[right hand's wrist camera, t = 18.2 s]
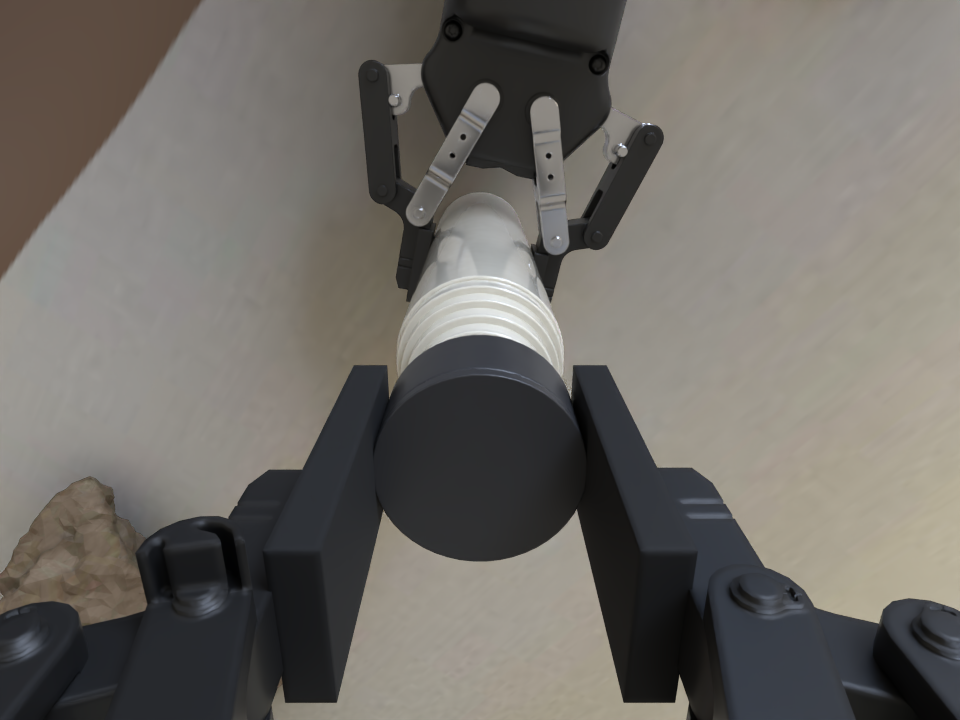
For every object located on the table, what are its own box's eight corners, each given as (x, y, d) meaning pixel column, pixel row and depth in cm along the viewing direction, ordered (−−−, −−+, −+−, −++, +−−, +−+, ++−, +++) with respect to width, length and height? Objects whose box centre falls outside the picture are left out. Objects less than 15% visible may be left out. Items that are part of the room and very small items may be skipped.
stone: (-82, 593, 42) (-136, 665, 36) (94, 452, 42) (67, 503, 36) (168, 733, 51) (155, 806, 46) (312, 618, 51) (316, 677, 46)
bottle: (452, 179, 36) (398, 316, 12) (534, 208, 36) (637, 392, 13) (426, 261, 37) (335, 522, 14) (505, 288, 38) (548, 581, 14)
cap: (456, 527, 16) (452, 593, 14) (349, 397, 15) (327, 448, 12) (606, 443, 15) (627, 499, 13) (507, 296, 14) (511, 331, 12)
